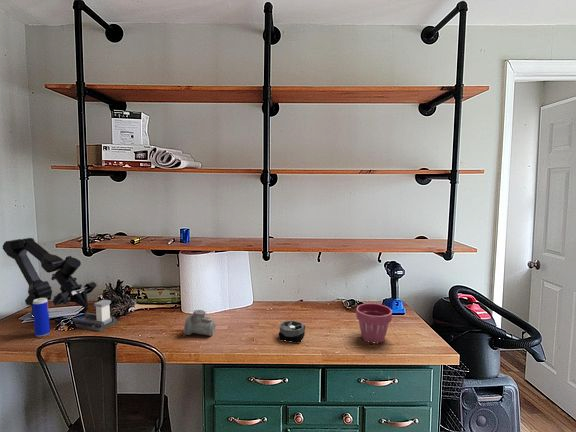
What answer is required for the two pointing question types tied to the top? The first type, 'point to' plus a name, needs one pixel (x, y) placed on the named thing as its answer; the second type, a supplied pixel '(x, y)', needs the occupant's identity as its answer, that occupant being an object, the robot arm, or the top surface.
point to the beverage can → (41, 317)
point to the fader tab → (103, 311)
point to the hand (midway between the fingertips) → (86, 307)
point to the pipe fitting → (199, 324)
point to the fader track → (92, 322)
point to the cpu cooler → (292, 331)
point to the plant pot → (373, 321)
